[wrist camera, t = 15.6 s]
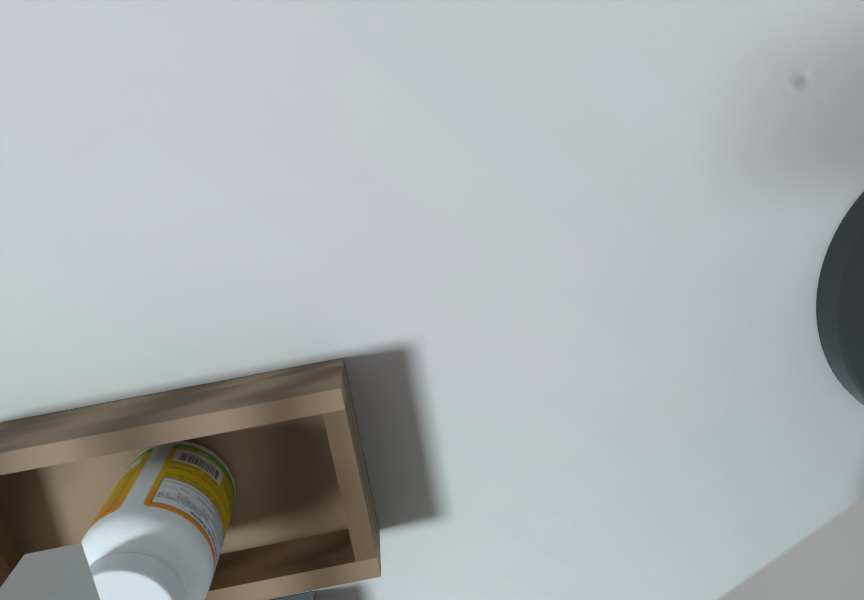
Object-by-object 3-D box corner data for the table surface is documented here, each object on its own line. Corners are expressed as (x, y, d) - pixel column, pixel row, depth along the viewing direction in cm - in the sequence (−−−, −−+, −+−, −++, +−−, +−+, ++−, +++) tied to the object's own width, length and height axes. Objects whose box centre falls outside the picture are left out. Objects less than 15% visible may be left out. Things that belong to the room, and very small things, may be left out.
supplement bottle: (136, 547, 39) (64, 692, 29) (111, 446, 37) (26, 566, 28) (247, 529, 39) (210, 668, 30) (226, 429, 38) (180, 542, 28)
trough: (342, 358, 38) (340, 388, 34) (379, 530, 41) (381, 576, 37) (-33, 429, 37) (-78, 467, 34) (27, 599, 40) (-8, 653, 36)
